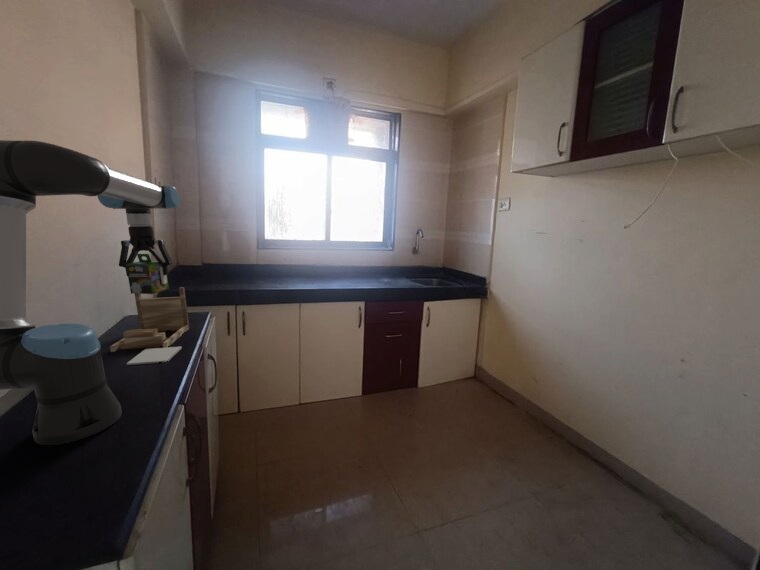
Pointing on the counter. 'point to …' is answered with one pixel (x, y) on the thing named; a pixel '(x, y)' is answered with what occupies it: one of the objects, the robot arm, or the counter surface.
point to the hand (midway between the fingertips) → (149, 284)
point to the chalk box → (145, 276)
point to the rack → (161, 316)
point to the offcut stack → (142, 338)
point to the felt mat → (154, 355)
